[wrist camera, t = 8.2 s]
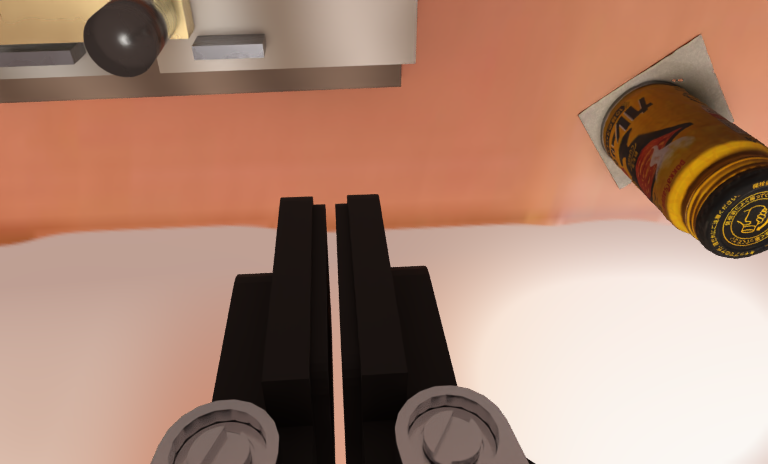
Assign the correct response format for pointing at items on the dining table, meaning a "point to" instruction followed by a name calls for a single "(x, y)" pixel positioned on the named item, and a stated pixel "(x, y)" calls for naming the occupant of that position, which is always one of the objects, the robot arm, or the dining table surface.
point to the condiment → (686, 152)
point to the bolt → (100, 28)
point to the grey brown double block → (249, 75)
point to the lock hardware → (73, 52)
